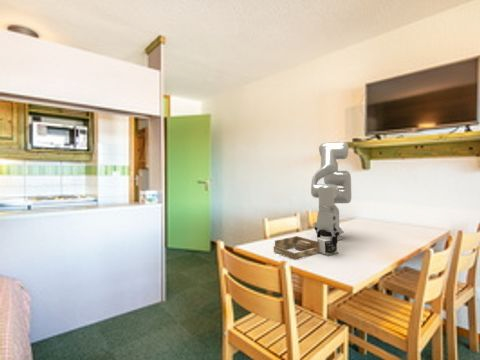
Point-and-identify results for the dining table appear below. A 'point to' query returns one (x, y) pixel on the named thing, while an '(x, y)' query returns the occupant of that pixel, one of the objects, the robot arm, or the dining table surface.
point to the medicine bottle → (326, 243)
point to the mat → (328, 254)
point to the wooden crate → (290, 243)
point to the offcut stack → (303, 245)
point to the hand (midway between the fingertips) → (326, 242)
